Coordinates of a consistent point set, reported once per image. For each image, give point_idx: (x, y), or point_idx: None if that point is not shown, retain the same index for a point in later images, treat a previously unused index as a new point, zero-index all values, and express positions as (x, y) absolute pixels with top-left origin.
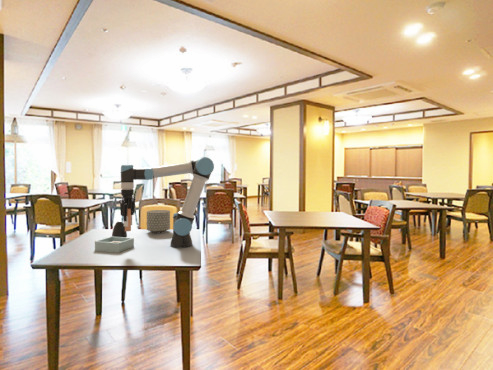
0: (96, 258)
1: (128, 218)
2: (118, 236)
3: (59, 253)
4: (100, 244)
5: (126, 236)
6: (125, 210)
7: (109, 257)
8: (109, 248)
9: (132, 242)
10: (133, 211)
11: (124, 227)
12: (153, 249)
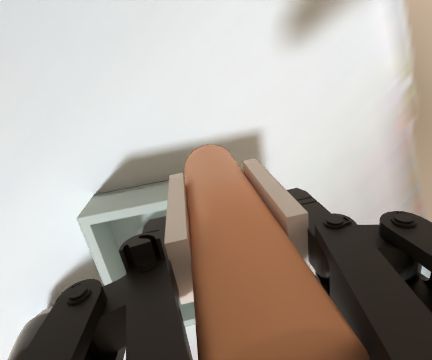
0: (330, 179)
1: (257, 200)
2: None
3: None
4: None
5: (35, 319)
6: (413, 313)
7: (300, 143)
8: None
9: (99, 204)
10: (87, 313)
11: None
12: (62, 43)
